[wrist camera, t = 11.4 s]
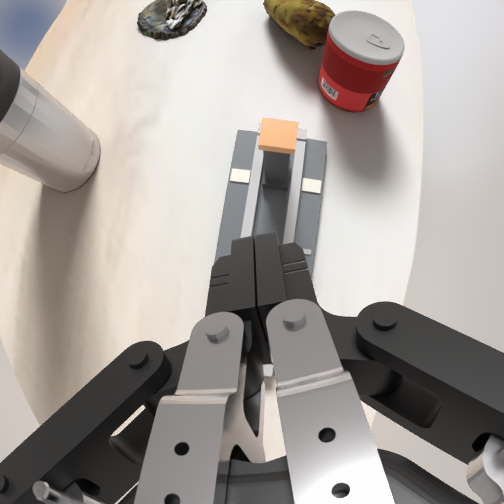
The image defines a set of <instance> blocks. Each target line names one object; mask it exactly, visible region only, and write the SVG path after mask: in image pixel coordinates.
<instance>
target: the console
mask: <svg viewBox="0 0 504 504" xmlns="http://www.w3.org/2000/svg"><path fill="white" fill-rule="evenodd" d="M260 130H261V124H260V123H259V128H258V132H253V131H244V130H238V132H237V137H236V142H235V147H234V153H233V158H232V163H231V169H230V174H229V180H228V185H227V191H226V197H225V202H224V208H223V214H222V220H221V225H220V231H219V237H218V243H217V250H216V256H215V262H216V261H217V260H218V258H219V257H222V256H227V255H231V243H232V240H233V239H238V238H243V237H248V236H252V235H253V236H254V238H255V235H257V234H262V233H267V232H272V231H276V232H277V237H278V242H279V245H282V244H287V243H292V242H295V243H296V244H297V245H299V246H300V247H301V248H302V249H303V251H304V254H305V258H306V262H307V265H308V269H309V273H310V277H311V276H312V269H313V262H314V254H315V247H316V239H317V231H318V223H319V215H320V206H321V197H322V187H323V177H324V167H325V156H326V145H327V142H325V141H319V140H313V139H306V135H307V130H305V129H299V128H298V131H297V140H296V148H295V154H290V160H291V165H290V173H289V180H288V188H287V191H285V190H279V189H271V188H264V187H262V181H263V174H264V156H263V150H259V149H258V142H259V136H260ZM215 262H214V264H215ZM271 357H272V354H271ZM273 369H274V366H273V360H272V364H265V365H263V371H264V376H270V377H272V373H273Z"/></svg>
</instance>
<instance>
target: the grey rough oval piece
mask: <svg viewBox="0 0 504 504" xmlns="http://www.w3.org/2000/svg"><path fill="white" fill-rule="evenodd" d="M206 11H207V6H206V5H205V3H204V2H203V0H155V1H154V2H152V3H151V4H150V5H148V6H147V7H146V8H145V9H144V10H143V11H142V12H141V13H139V17H138V22H137V24H138V26H139V28H140V29H141V31H142V32H143V34H144V35H146V36H150V37H153V38H154V39H162V40H167V39H169V38H175V37H178V36H183V35H186V34H187V33H188V32H189V30H192V29H194V28H195V27H196V25H197V24H198V23H199V22H200V21H201V18H203V17H204V16H205V13H206Z"/></svg>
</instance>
